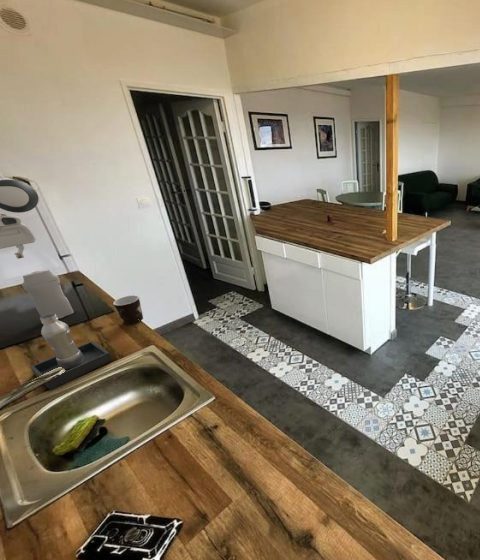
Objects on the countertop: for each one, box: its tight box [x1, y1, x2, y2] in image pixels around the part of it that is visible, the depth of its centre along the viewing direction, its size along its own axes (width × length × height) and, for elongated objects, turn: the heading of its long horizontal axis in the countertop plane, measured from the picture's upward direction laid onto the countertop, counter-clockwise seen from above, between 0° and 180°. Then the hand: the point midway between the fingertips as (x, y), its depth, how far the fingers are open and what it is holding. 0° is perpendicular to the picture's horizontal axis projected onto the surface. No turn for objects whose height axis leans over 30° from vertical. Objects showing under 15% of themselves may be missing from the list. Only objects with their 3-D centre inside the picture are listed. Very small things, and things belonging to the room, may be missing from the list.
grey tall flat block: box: [21, 269, 75, 320], centre depth 132 cm, size 11×4×22 cm, turn 146°
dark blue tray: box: [29, 340, 113, 391], centre depth 107 cm, size 17×14×4 cm
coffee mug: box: [112, 294, 144, 325], centre depth 132 cm, size 12×9×10 cm
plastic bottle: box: [39, 313, 84, 369], centre depth 103 cm, size 6×7×20 cm
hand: (0, 262), depth 105 cm, fingers open, 8 cm apart
